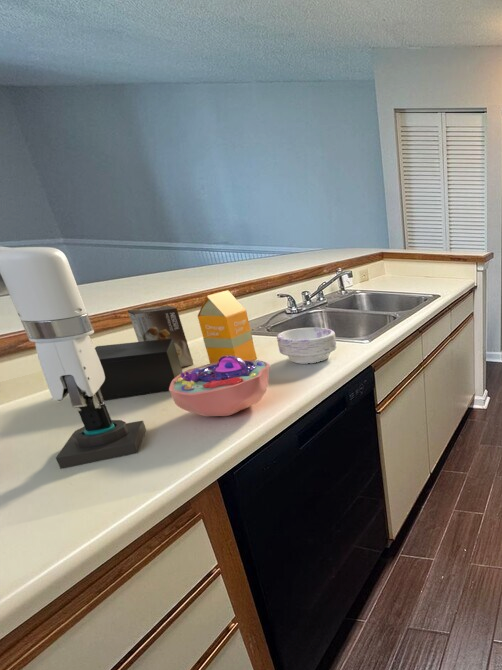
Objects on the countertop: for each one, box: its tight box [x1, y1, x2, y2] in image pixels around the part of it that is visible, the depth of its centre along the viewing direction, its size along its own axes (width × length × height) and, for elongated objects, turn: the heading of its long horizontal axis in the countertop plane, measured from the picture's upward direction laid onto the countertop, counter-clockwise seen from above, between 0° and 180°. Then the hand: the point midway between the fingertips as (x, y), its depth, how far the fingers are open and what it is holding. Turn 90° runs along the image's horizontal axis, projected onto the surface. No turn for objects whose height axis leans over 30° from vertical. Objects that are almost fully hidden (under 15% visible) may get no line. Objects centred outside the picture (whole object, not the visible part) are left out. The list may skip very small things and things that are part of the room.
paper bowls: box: [276, 327, 337, 365], centre depth 122 cm, size 15×15×8 cm
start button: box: [84, 423, 115, 435], centre depth 75 cm, size 4×4×2 cm
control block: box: [55, 419, 147, 470], centre depth 76 cm, size 10×10×4 cm
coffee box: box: [127, 304, 194, 368], centre depth 113 cm, size 9×6×16 cm
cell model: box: [168, 355, 270, 417], centre depth 90 cm, size 17×20×11 cm
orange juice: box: [197, 289, 258, 364], centre depth 116 cm, size 8×9×20 cm
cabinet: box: [94, 338, 184, 402], centre depth 101 cm, size 15×13×10 cm
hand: (100, 427), depth 75 cm, fingers closed
